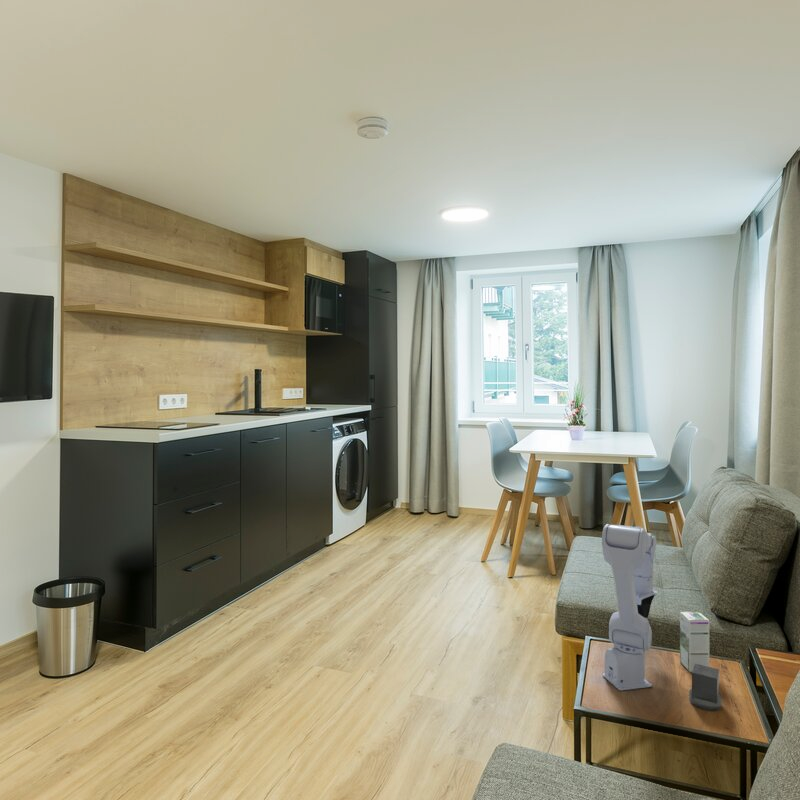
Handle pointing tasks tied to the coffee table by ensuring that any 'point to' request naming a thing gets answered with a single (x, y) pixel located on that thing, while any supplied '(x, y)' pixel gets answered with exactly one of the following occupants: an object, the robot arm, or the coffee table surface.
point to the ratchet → (705, 703)
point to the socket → (705, 683)
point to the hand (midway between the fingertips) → (641, 621)
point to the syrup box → (694, 640)
